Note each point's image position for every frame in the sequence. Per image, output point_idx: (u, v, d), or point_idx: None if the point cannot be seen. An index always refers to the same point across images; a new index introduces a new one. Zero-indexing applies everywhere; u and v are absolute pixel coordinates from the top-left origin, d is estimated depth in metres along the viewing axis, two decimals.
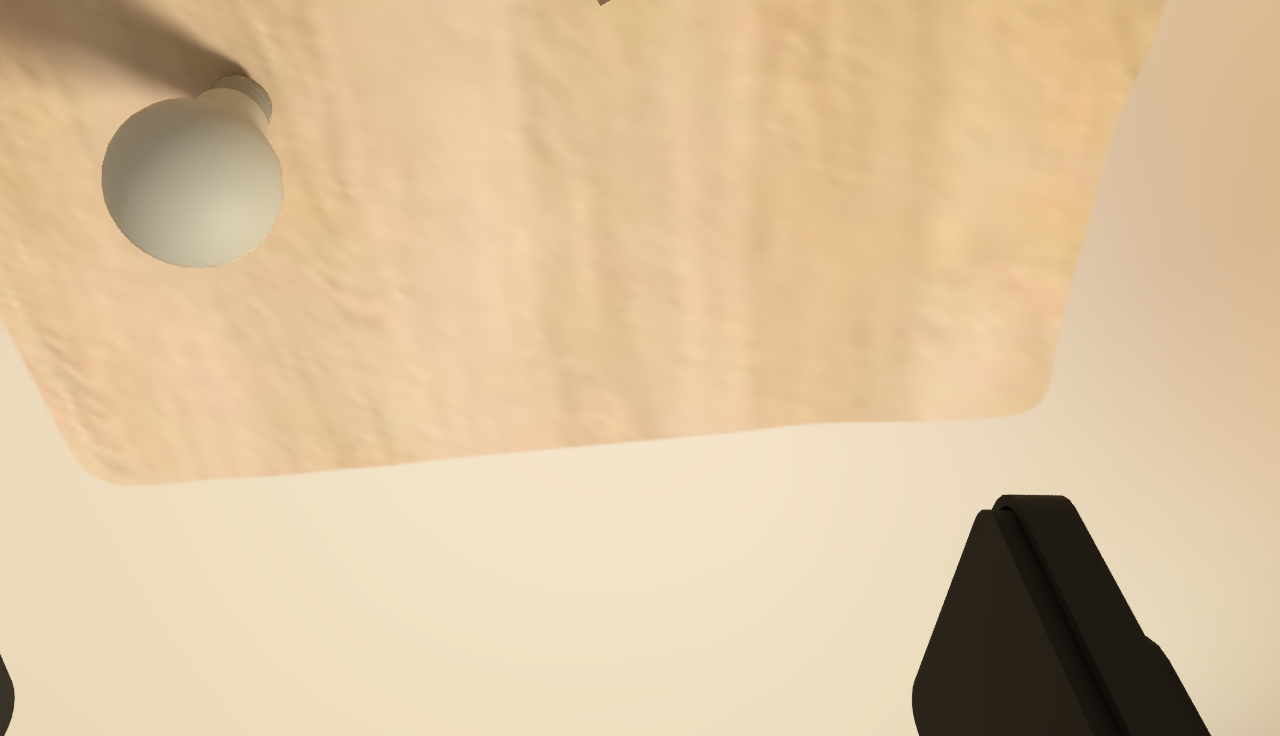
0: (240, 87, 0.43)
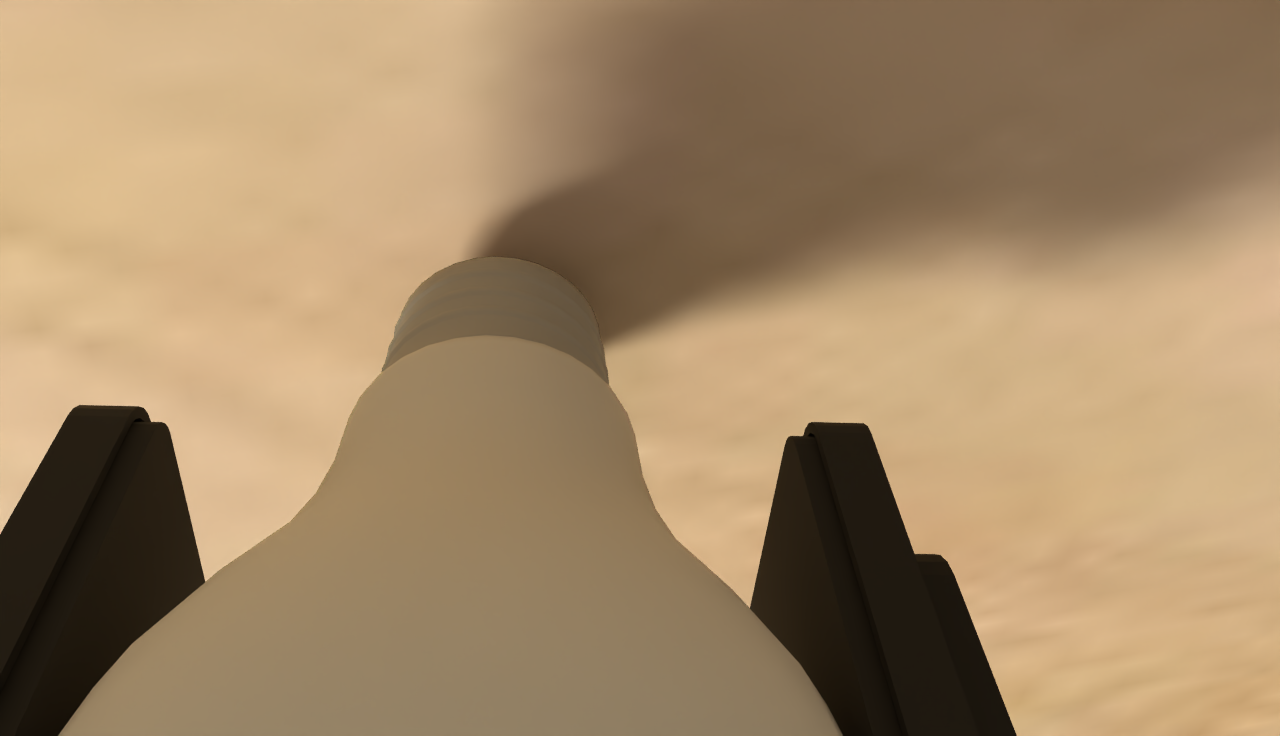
0: None
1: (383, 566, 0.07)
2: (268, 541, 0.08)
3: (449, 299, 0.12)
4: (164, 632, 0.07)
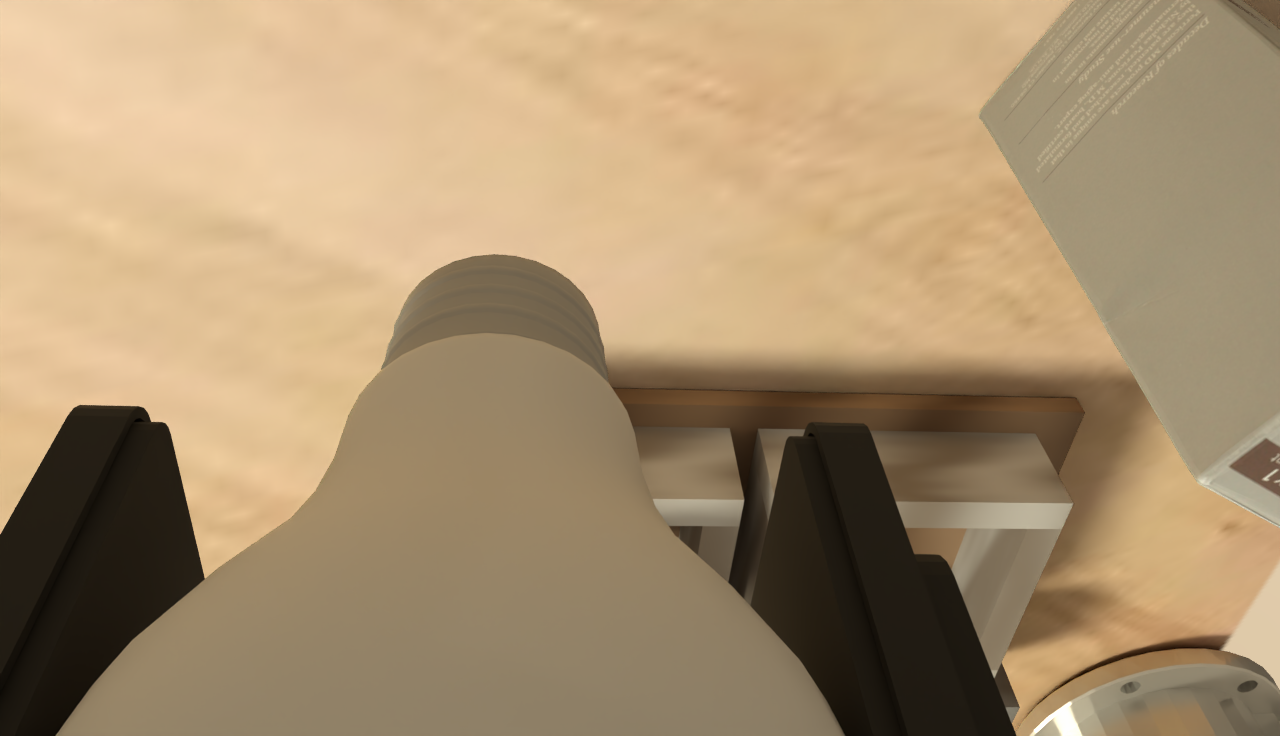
0: None
1: (383, 561, 0.06)
2: (268, 538, 0.08)
3: (448, 297, 0.12)
4: (164, 629, 0.07)
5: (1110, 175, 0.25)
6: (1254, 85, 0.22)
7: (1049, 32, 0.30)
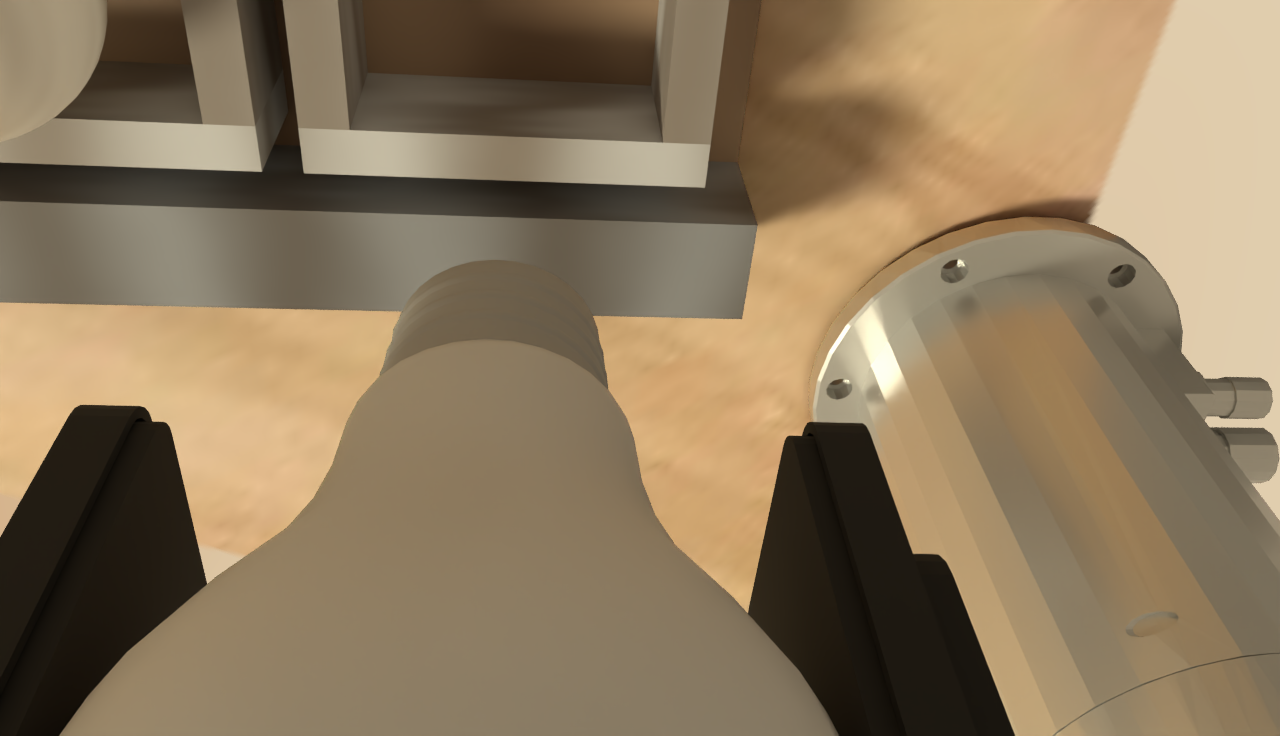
0: None
1: (381, 573, 0.06)
2: (264, 548, 0.08)
3: (447, 302, 0.12)
4: (159, 640, 0.07)
5: None
6: None
7: None
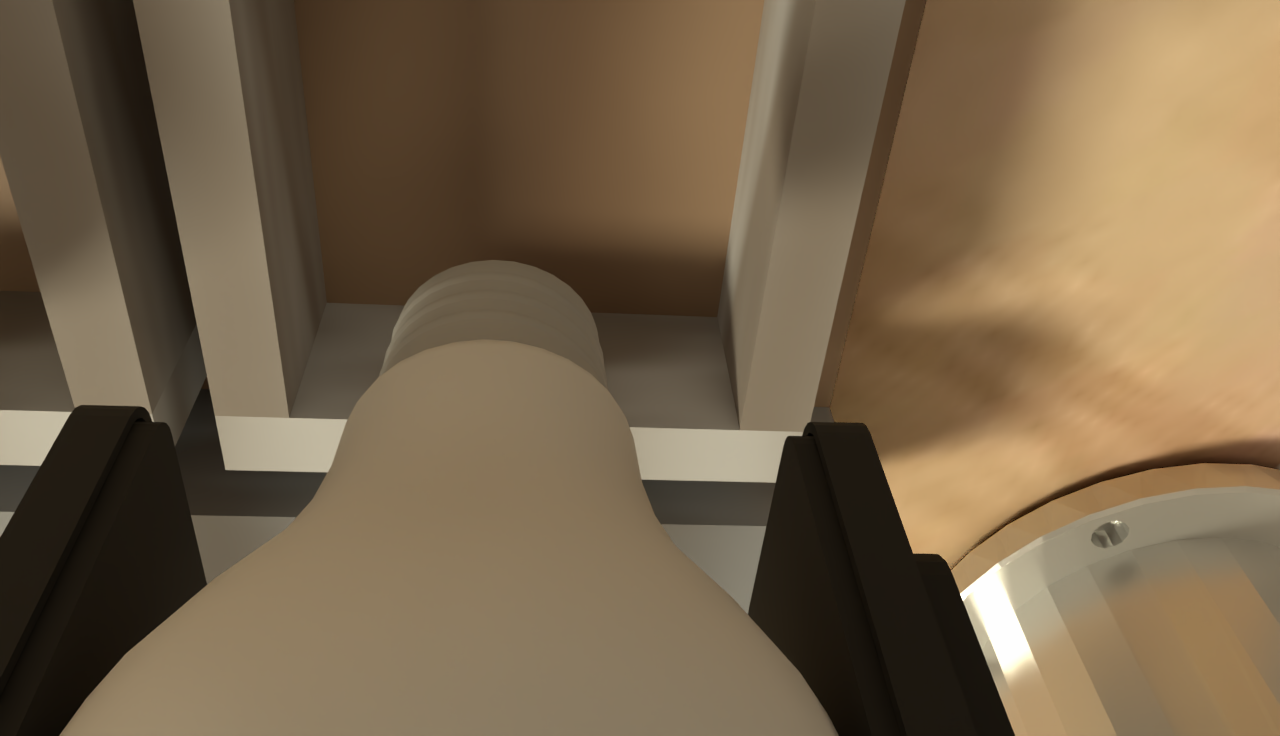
0: None
1: (379, 573, 0.06)
2: (263, 549, 0.08)
3: (447, 303, 0.12)
4: (157, 642, 0.07)
5: None
6: None
7: None
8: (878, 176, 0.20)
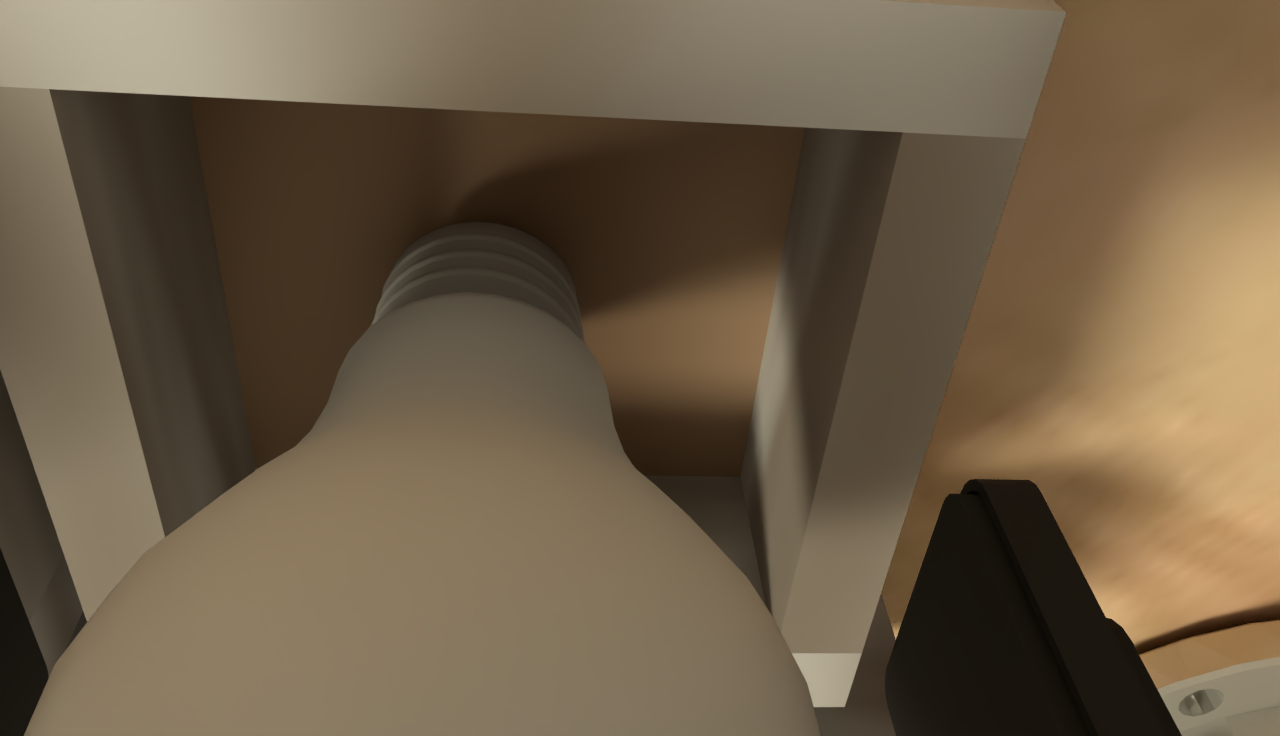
0: None
1: (370, 478, 0.07)
2: (265, 466, 0.08)
3: (433, 261, 0.13)
4: (173, 540, 0.07)
5: None
6: None
7: None
8: None
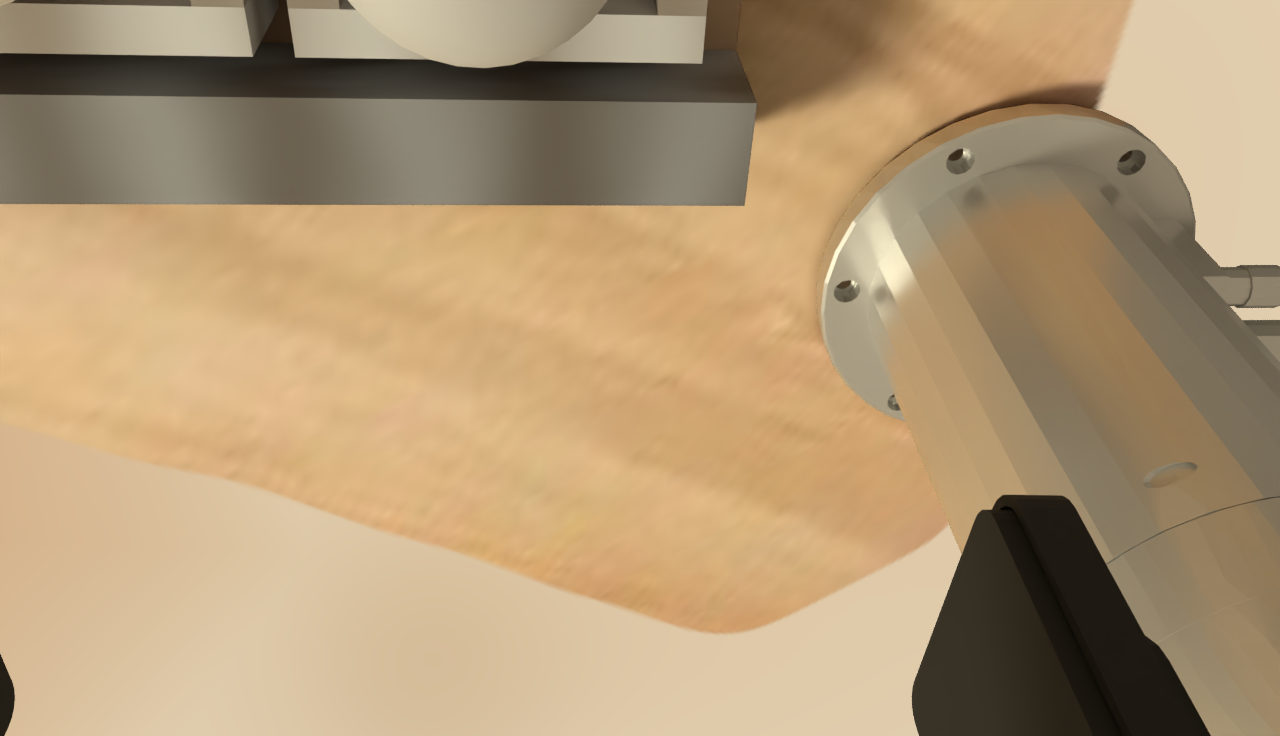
0: None
1: None
2: None
3: None
4: None
5: None
6: None
7: None
8: None
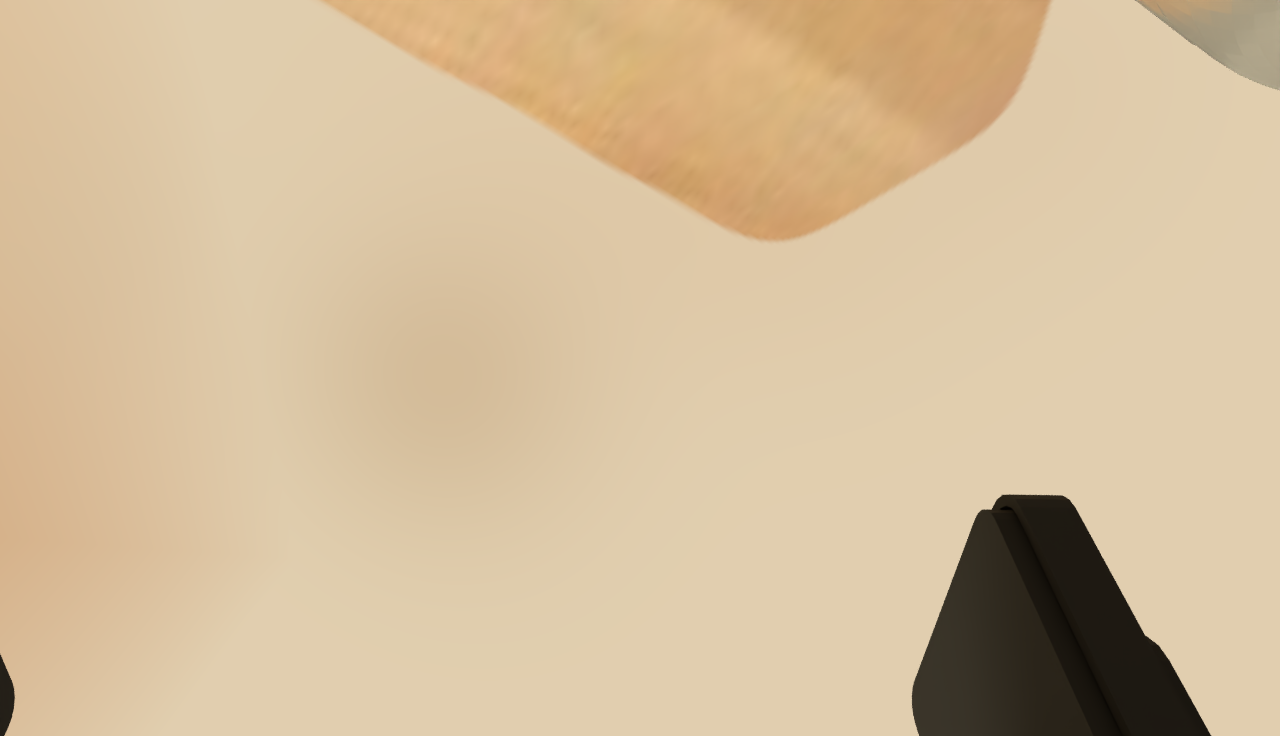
0: None
1: None
2: None
3: None
4: None
5: None
6: None
7: None
8: None
